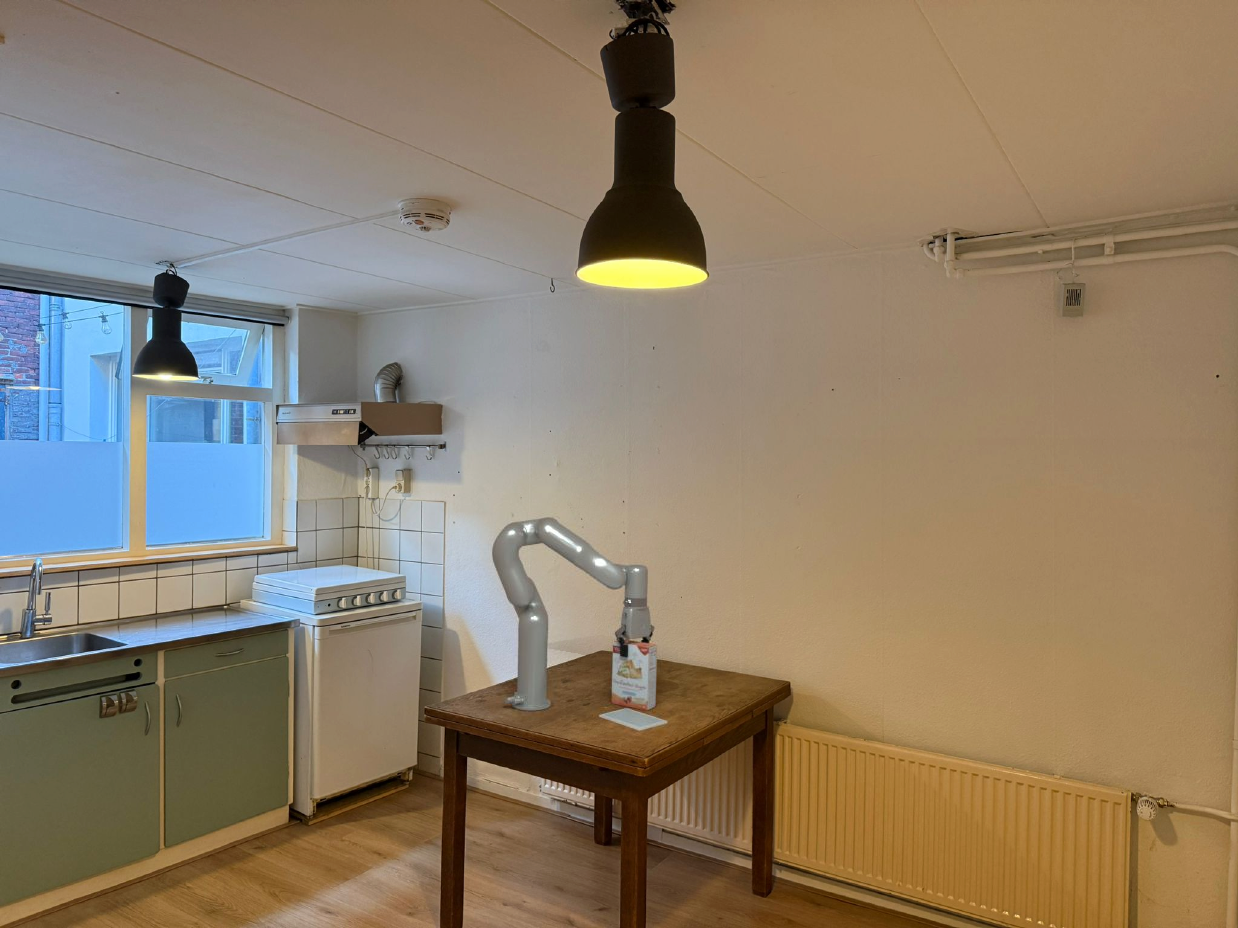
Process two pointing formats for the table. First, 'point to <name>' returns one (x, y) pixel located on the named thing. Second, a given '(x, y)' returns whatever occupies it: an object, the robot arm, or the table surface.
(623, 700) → the cracker box
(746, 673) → the table surface
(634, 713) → the plate
